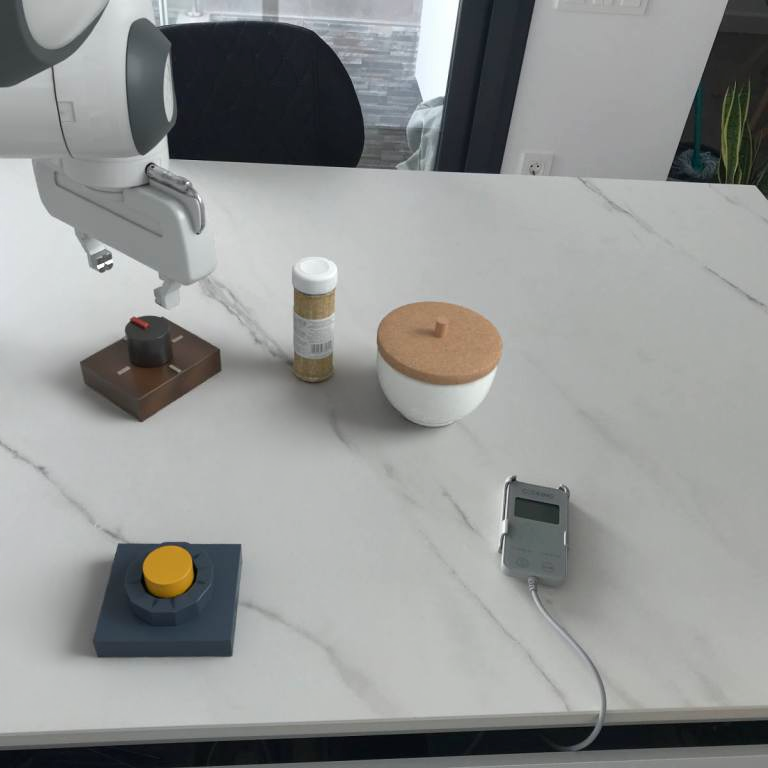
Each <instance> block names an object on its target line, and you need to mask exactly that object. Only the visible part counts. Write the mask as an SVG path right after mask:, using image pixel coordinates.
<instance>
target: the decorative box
mask: <svg viewBox="0 0 768 768" xmlns="http://www.w3.org/2000/svg"><path fill="white" fill-rule="evenodd" d="M376 346H377V347H376V367H377V368H376V371H377V375H378V380H379V385H380V387H381V389H382V392H383V394H384V396H385V397H386V398H387V400H388V402H389V403H390V404H391V406H393V407H394V408H395V409H396V410H397V411H398V412H399V413H400V414H401V415H402V416H403V417H404V418H405V419H406V420H408V421H410V422H411V423H414V424H415V425H419V426H424V427H429V428H439V427H445V426H449V425H451V424H453V423H455V422H456V421H458V420H461V419H463V418H465V417H467V416H468V415H470V414H471V413H473V412H474V411H475V410H476V409H478V407H479V406H480V405H481V404H482V402H483V401H484V400H485V398H486V397H487V395H488V393H489V392H490V390H491V387H492V385H493V382H494V379H495V377H496V374H497V369H498V366H499V363H500V360H501V358H502V353H503V339H502V336H501V334H500V332H499V331H498V329H497V328H496V327H495V325H494V324H493V323H492V322H491V321H490V320H488V319H487V318H486V317H485V316H483V315H481V313H479V312H477V311H474V310H472V309H470V308H467V307H465V306H462V305H459V304H455V303H450V302H445V301H418V302H411V303H408V304H404V305H402V306H399V307H397V308H395V309H392V310H391V311H390V312H388V313H387V314H386V315H385V316H384V317H383V318H382V319H381V321H380V322H379V323H378V327H377V330H376Z"/></svg>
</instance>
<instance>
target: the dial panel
mask: <svg viewBox="0 0 768 768" xmlns="http://www.w3.org/2000/svg"><path fill="white" fill-rule="evenodd" d="M160 317H161V318H163V319H165V320H166V321H167V322H168V323H169V326H170V334H171V342H172V350H173V355H172V357H171V359H170V360H169V361H168V362H166V363H165V364H163V365H160V366H157V367H140V366H137V365H135V364H134V363H132V361H131V360H130V358H129V353H128V347H127V341H126V336H124V337H122V338H120V339H118V340H117V341H115V342H113V343H111V344H109V345H107V346H105V347H104V348H102V349H100V350H98V351H96V352H95V353H92V354H91V355H89V356H87V357H86V358H84V359H82V360H80V361H79V364H80V370H81V374H82V378H83V383H84V385H86V386H87V387H89V388H90V389H92V390H93V391H95V392H96V393H97V394H99V395H100V396H102V397H104V398H105V399H107V400H108V401H109V402H111V403H113V404H114V405H116V406H117V407H119V408H120V409H121V410H124V411H125V412H126V413H128V414H129V415H131V416H132V417H134V418H136V419H137V420H139V421H140V422H141V423H142V422H145V421H146V420H147V419H149V418H150V417H152V416H154V415H155V414H156V413H158V412H160V411H162V410H163V409H165V408H167V406H169V405H171V404H172V403H173V402H175V401H177V400H178V399H179V398H182V397H183V396H185V395H187V393H189V392H190V391H192V390H194V389H195V388H197V387H199V386H200V385H201V384H203V383H205V382H207V381H208V380H209V379H211V378H212V377H214V376H215V375H217V374H219V373H220V372H221V371H222V358H221V348H219V347H218V346H216V345H214V344H212V343H210V342H208V341H207V340H205V339H203V338H202V337H199V336H198V335H196V334H195V333H193V332H191V331H189V330H187V329H186V328H184V327H182V326H180V325H179V324H177V323H175V322H173V321H172V320H170V319H168V318H166V317H165V316H163V315H162V316H160Z"/></svg>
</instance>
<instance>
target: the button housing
mask: <svg viewBox="0 0 768 768" xmlns="http://www.w3.org/2000/svg"><path fill="white" fill-rule="evenodd" d="M164 546H178V547H181V548H183V549H185V550H186V551H187V552H188V553H189V554H190V556H191V559H192V565H193V572H194V578H193V582H192V584H191V586H190V587H189V588H188V589H187V590H186V591H185V592H184V593H182V594H180V595H178V596H176V597H172V598H160V597H157V596H155V595H153V594H152V593H150V592H149V590H148V589H147V587H146V583H145V578H144V573H143V564H144V561H145V559H146V558H147V556H148V555H149V554H150V553H151V552H153V551H154V550H156V549H158V548H160V547H164ZM242 567H243V549H242V543H190V542H187V541H162V542H160V543H133V542H131V543H129V542H127V543H123V542H122V543H120V542H119V543H117V546H116V550H115V553H114V557H113V561H112V565H111V569H110V573H109V577H108V581H107V584H106V589H105V592H104V596H103V599H102V604H101V608H100V611H99V615H98V619H97V623H96V627H95V631H94V634H93V639H92V644H93V647H94V650H95V654H96V657H97V658H168V657H170V658H171V657H172V658H174V657H178V658H179V657H180V658H181V657H183V658H184V657H187V658H188V657H189V658H190V657H233V654H234V647H235V646H234V645H235V644H234V643H235V635H236V626H237V616H238V615H237V614H238V607H239V597H240V587H241V579H242V578H241V577H242Z"/></svg>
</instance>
